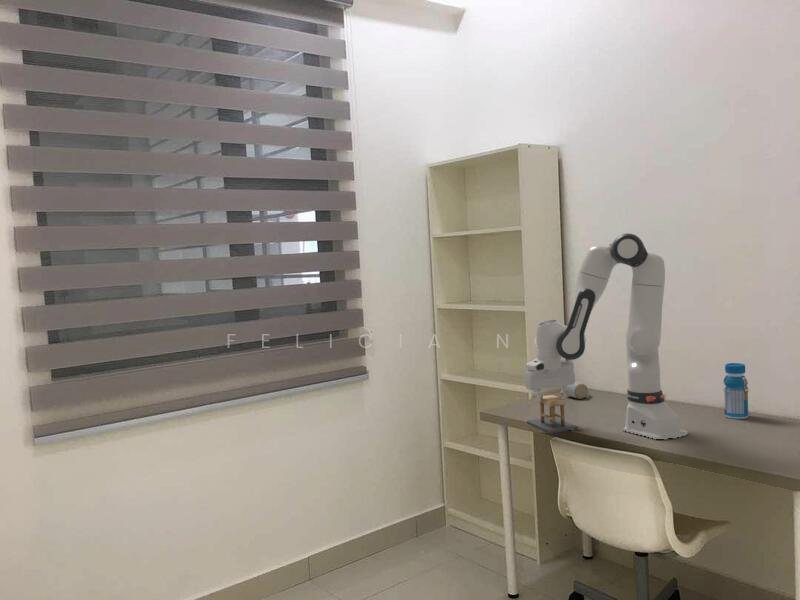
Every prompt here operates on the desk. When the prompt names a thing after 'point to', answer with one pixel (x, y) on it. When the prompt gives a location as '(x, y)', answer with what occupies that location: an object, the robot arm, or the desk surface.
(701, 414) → the desk surface
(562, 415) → the oak stool
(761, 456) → the desk surface
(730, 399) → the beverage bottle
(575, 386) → the ceramic mug
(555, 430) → the charcoal mat
